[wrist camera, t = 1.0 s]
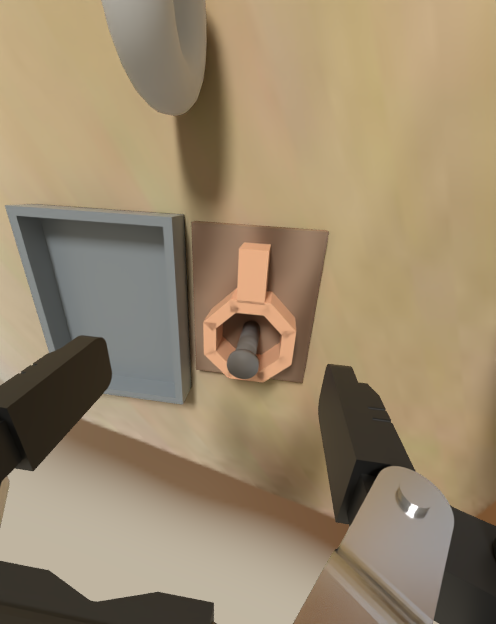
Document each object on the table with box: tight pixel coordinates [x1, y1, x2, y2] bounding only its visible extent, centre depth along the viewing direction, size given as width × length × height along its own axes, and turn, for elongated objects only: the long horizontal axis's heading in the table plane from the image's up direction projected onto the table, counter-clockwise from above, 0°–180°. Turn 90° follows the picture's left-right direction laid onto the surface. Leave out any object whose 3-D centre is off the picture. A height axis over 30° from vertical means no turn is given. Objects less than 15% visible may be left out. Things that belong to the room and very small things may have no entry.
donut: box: [101, 0, 207, 116], centre depth 15 cm, size 10×4×10 cm, turn 175°
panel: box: [192, 221, 329, 383], centre depth 24 cm, size 12×16×8 cm
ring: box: [203, 242, 296, 382], centre depth 25 cm, size 8×13×3 cm, turn 177°
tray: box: [5, 204, 191, 404], centre depth 28 cm, size 15×20×3 cm
